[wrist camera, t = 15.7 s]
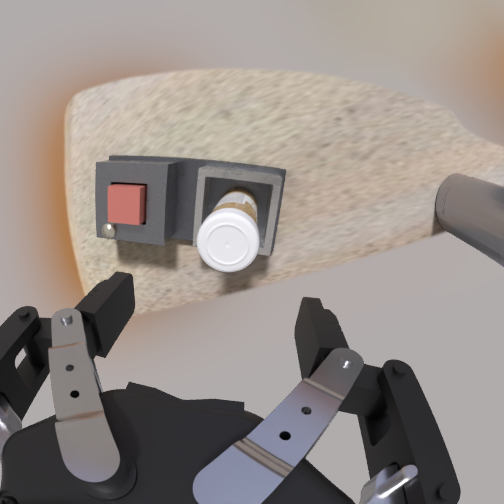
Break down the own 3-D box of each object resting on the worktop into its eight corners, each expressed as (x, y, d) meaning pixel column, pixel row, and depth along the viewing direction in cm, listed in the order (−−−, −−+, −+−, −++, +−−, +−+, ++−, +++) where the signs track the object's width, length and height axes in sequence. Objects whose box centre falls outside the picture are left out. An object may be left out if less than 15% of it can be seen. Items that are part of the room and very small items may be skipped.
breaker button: (156, 181, 30) (140, 188, 26) (154, 213, 32) (139, 225, 27) (127, 179, 30) (107, 186, 25) (126, 211, 32) (108, 221, 27)
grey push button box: (285, 169, 31) (291, 173, 26) (272, 247, 35) (275, 266, 29) (113, 155, 30) (90, 158, 25) (111, 228, 34) (91, 242, 29)
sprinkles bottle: (258, 223, 32) (260, 273, 20) (220, 225, 33) (199, 275, 20) (256, 185, 31) (258, 211, 18) (217, 188, 31) (191, 215, 18)
